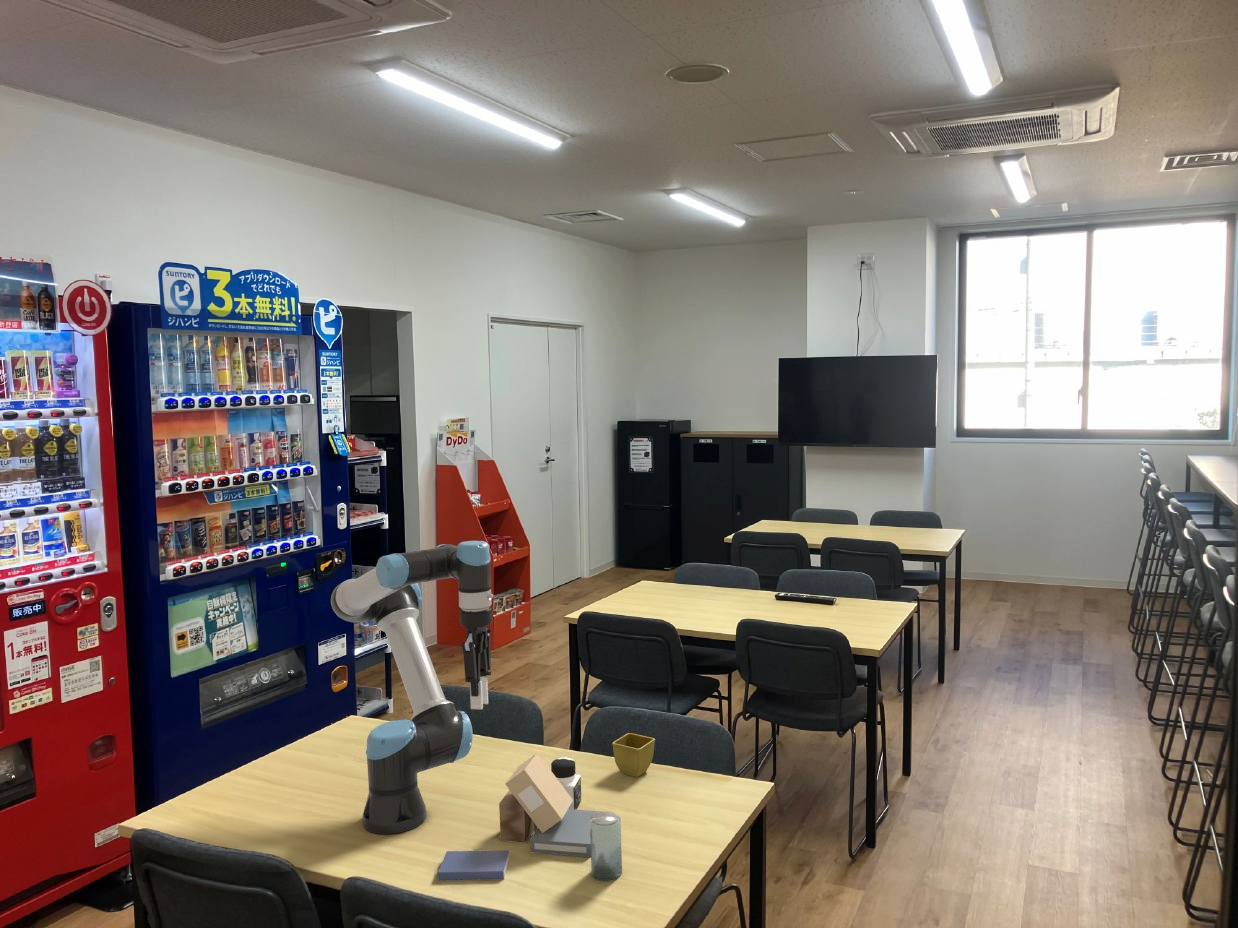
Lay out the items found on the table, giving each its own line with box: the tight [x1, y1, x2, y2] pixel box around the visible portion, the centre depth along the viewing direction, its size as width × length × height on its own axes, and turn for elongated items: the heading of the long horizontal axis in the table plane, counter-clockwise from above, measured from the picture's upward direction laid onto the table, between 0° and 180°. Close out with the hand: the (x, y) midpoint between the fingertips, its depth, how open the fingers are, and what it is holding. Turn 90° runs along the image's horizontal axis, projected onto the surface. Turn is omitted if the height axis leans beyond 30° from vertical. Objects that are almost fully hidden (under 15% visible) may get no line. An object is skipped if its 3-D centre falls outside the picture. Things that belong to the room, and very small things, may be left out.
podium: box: [529, 809, 603, 858], centre depth 214 cm, size 14×16×3 cm
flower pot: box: [611, 732, 656, 778], centre depth 249 cm, size 9×9×9 cm
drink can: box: [590, 811, 623, 882], centre depth 197 cm, size 7×7×12 cm
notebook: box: [437, 849, 510, 882], centre depth 201 cm, size 14×9×2 cm, turn 89°
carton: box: [504, 752, 573, 833], centre depth 215 cm, size 6×10×14 cm
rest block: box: [498, 789, 537, 844], centre depth 216 cm, size 6×8×9 cm
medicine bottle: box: [550, 757, 582, 810], centre depth 230 cm, size 7×7×12 cm
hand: (479, 705), depth 216 cm, fingers open, 3 cm apart
